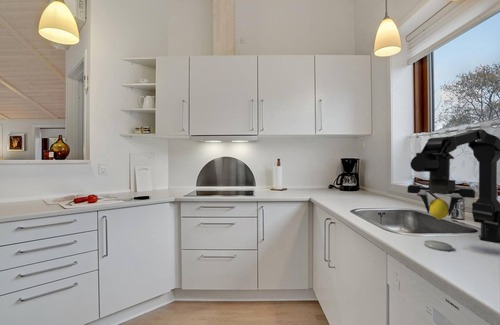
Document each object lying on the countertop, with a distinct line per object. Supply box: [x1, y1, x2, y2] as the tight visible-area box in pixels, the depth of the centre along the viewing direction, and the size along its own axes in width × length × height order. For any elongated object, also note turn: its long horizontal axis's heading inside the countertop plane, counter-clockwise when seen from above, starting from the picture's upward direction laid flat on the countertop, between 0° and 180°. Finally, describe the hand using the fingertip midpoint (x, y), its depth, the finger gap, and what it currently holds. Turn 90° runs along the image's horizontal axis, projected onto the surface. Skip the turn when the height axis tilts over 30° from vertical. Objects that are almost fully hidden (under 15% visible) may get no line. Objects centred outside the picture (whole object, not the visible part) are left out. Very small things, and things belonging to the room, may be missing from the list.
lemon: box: [429, 197, 449, 221], centre depth 86 cm, size 6×6×8 cm
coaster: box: [423, 239, 453, 252], centre depth 86 cm, size 8×8×1 cm
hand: (438, 214), depth 86 cm, fingers closed on lemon, 5 cm apart
